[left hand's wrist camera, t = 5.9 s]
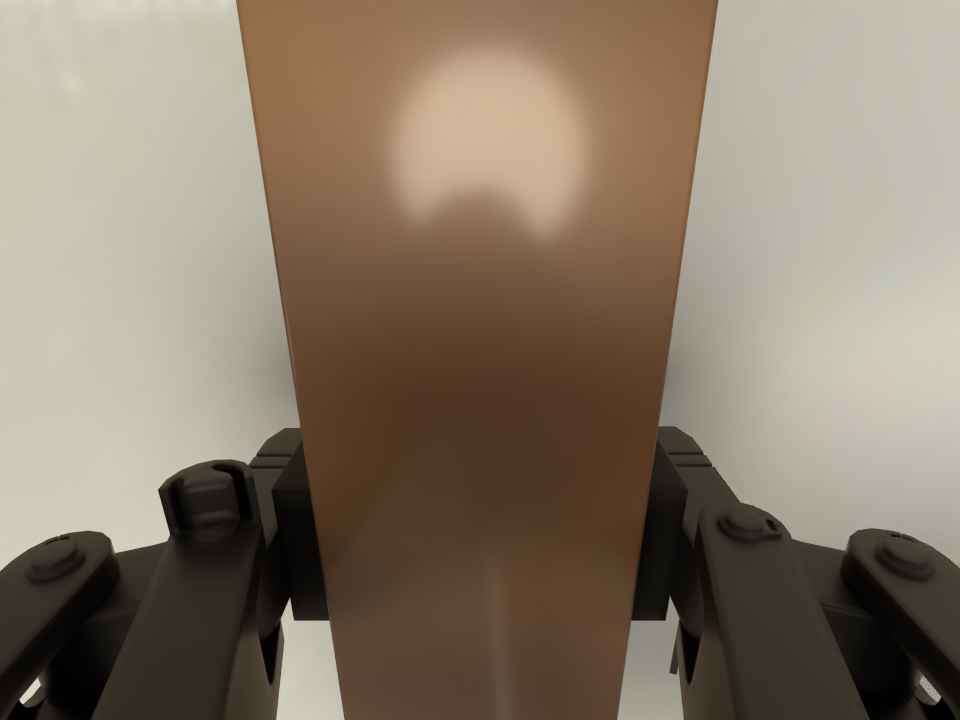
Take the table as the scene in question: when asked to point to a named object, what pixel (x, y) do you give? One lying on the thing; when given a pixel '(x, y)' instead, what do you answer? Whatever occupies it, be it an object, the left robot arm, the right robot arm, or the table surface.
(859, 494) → the table surface
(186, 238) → the table surface
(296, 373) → the post
